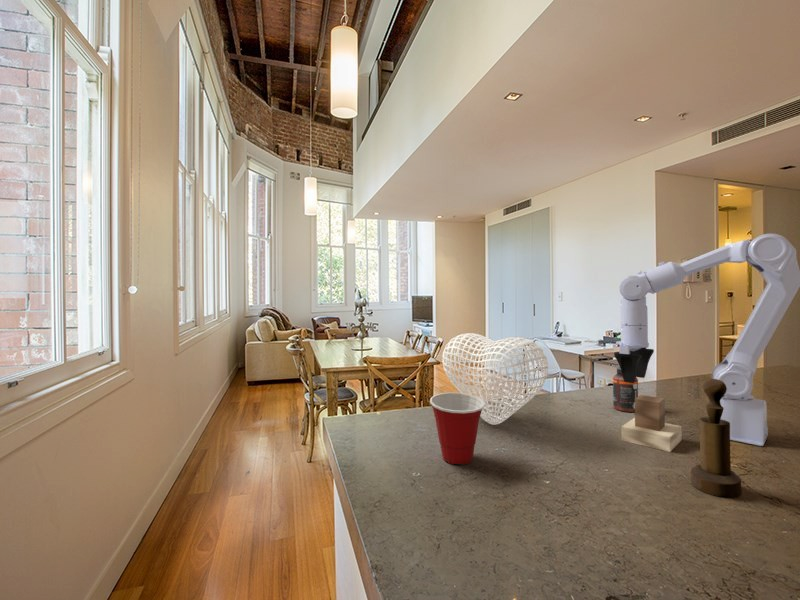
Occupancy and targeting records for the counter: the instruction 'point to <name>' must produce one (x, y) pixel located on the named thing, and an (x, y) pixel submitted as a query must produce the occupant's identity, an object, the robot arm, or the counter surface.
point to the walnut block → (649, 412)
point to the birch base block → (652, 436)
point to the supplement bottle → (624, 393)
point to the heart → (490, 346)
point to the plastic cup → (457, 424)
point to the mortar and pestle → (715, 448)
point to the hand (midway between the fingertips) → (634, 379)
